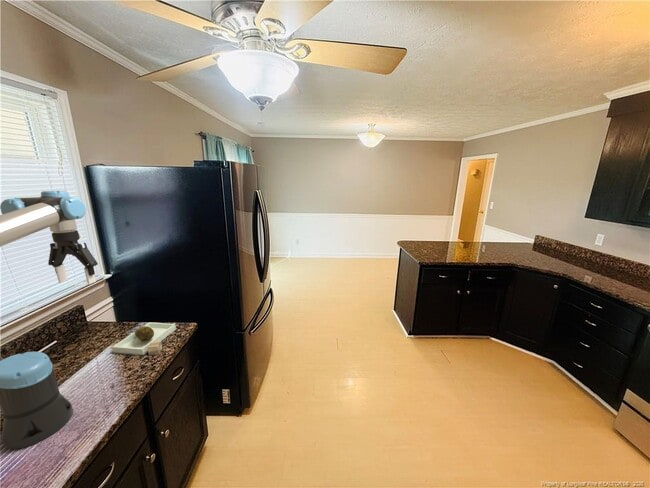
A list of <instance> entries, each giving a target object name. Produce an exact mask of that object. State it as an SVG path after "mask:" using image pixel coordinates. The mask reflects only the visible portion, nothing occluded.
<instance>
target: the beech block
mask: <svg viewBox="0 0 650 488" xmlns="http://www.w3.org/2000/svg"><path fill="white" fill-rule="evenodd" d="M147 349H148V352H147V353H148V356H152V355H159V354H160V353H161V351H162V350H163V345H162V341H156V342H151V343H150V344H149V346H148V347H147Z"/></svg>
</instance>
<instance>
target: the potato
mask: <svg viewBox="0 0 650 488" xmlns="http://www.w3.org/2000/svg"><path fill="white" fill-rule="evenodd" d="M143 326H144V325H143ZM143 326H140V327H139V328H137V329H136V330H135V331H134V332H135V336H136V337H137V338H138V339H139V340H141V341H142V342H144V341H148V340H150V339H151V338H152V337H153V336H154V331H153V329H152V328H150V327H147V326H144V327H143Z"/></svg>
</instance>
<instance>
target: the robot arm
mask: <svg viewBox="0 0 650 488" xmlns="http://www.w3.org/2000/svg"><path fill="white" fill-rule="evenodd" d="M0 211H1V212H0V213H1V215H0V248H2V247H4V246H6V245H8V244H12V243H13V242H16V241H19V240H20V239H24V238H25V237H28V236H30V235H32V234H36V233H37V232H40V231H42V230H45V229H47V228H49V230H50V232H52V233H51V237H52V241H53V242H52V243H50V244H49V247H50V250H49V257H48V266H52V267H53V268H54V271H55V274H56V277H57V280H58V283H59V284H61V283H64V282H66V281H69V280H68V276H67V272H66V269H65V268H66V267H65V266H64V261H65V259H66V258H67V255H71V256H73V257H75V258H76V259H77V260H78V261H79V262H80V263H81V264H82V265H83V266H84V268H83V270H84V274H85V278H86V283H87V285H92V284H93V283H96V282H97V280H96V276H95V274H96V271H95V269H94V267H96V266H98V264H99V263H98V261H97V260H96V259H95V257H94V255H93V254H92V252H91V251H90V250H89V248H88V246H87V242H81V243H79V241H78V240H80V238H81V237H80V233H79V231H78V230H77V229H78V227H77V223H76V222H77V221H76V220H79V219H82V218H83V217H84V216H85V215H86V213H87V207H86V205H85V203H84V202H83V201H82V200H81V199H80V198H78V197H72V196H70V194H69V192H68V191H66V190H42V191H41V192H40V196H37V197H14V198H6V199H3V201H1V203H0ZM0 410H1V413H2V416H3V424H2V431H1V437H0V440H1V442H2V445H3V447H4V448H5V449H7V450H19V449H23V448H26V447H30V446H33V445H35V444H37V443H39V442H42V441H44V440H46V439H47V438H49V437H51V436H52V435H53V434H56V432H58V431H59V430H61V429H62V428H63V427H64V426H66V424H67V423H68V422H69V421H70V419H71V418H72V416H73V415H74V407H73V405H72V403H71V402H70V401H69V399H67V398H66V397H65V396H64V395H62V393H61V392H60V389H59V386H58V382H57V378H56V375H55V371H54V367H53V362H52V361H51V359H50V357H49V356H48V355H47V353H45V352H41V351H26V352H23V353H17V354H14V355H11V356H8V357H5V358H3V357H2V356H0Z"/></svg>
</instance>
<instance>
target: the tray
mask: <svg viewBox="0 0 650 488" xmlns="http://www.w3.org/2000/svg"><path fill="white" fill-rule="evenodd" d="M144 326H147V327H150V328H152V329H153V331H154V336H153V337H152V338H151V339H150V340H148V341H144V342H142V341H141V340H139V339H138V338H137V337H136V336H135V331H134V332H132V333H131V334H129V335H128V336H126V337H125V338H123V339H122V340H121V341H119V342H117V343H116V344H114V345H112V347H111V348H112V352H113V354H122V355H123V354H125V355H132V356H135V355H136V356H145V355H146V354H147V353H148V349H147V347H148V346H149V344H150V343H151V342H156V341H161V342H162V341H163V340H165V339H166V338H167V337H169V336H170V335H171V334H172V333H173V332H175V331H176V330H177V327H176V324H175V323H164V322H163V323H162V322H161V323H160V322H148V323H146V324H145V325H143V326H142V327H144Z"/></svg>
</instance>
